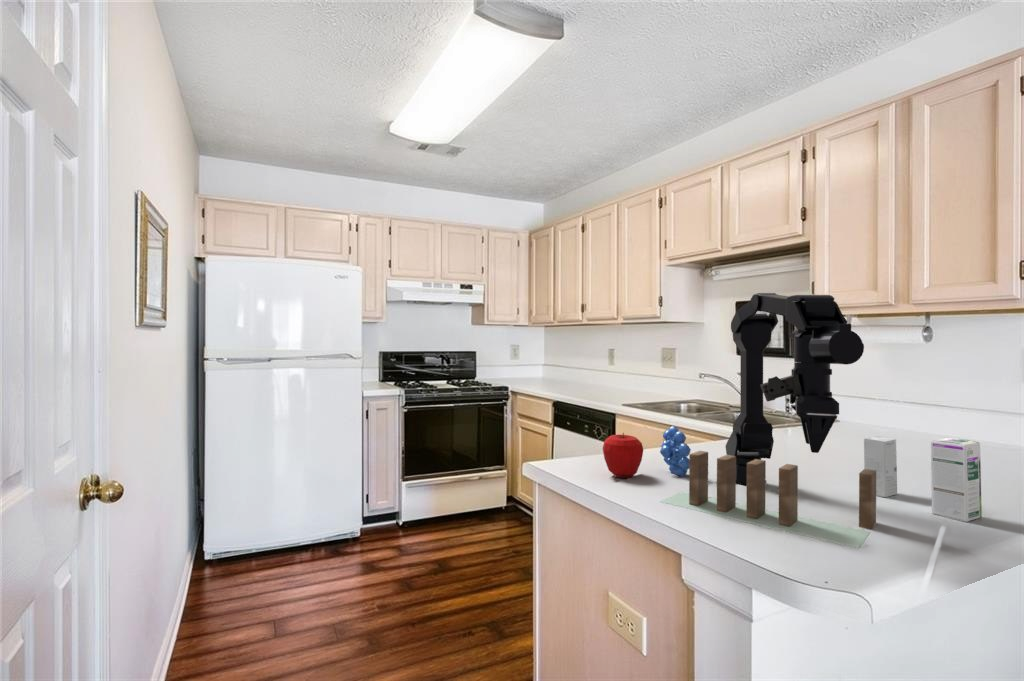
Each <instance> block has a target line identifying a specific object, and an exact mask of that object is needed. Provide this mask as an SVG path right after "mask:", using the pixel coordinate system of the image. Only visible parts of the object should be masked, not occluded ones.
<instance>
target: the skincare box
mask: <svg viewBox="0 0 1024 681" xmlns="http://www.w3.org/2000/svg"><path fill="white" fill-rule="evenodd" d="M897 460H898V459H897V439H896V438H890V437H884V436H883V437H882V436H872V437H866V438H865V437H864V438H863V470H864V469H870V470H876V497H880V498H889V497H891V496H895V495H897V494H898V471H897V470H898V469H897V468H898V467H897V466H898V465H897Z"/></svg>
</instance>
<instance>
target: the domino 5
mask: <svg viewBox="0 0 1024 681" xmlns="http://www.w3.org/2000/svg"><path fill="white" fill-rule="evenodd" d="M858 477H859V478H858V479H859V481H858V487H859V488H858V500H859V501H858V527H859V528H862V529H868V530H872V529H873V528H874V526H875V525H876V523H877V496H876V470H870V469H864V468H863V469H862V470H861V471H860V472H859V473H858Z"/></svg>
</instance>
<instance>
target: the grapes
mask: <svg viewBox="0 0 1024 681" xmlns="http://www.w3.org/2000/svg"><path fill="white" fill-rule="evenodd" d="M662 437H663V439H664V441H662V444H661V445H660V446H661V448H660V451H659V453H660V454H661V456H662V457H663V461H664V462H665V464H666V465H668V466H669V468H668V470H669V471H670V472H671V474H673V475H674V474H675V475H677V476H679V477H685V476H687V473H688V471H689V458H688V456H689V454H691V451H692V449H691V448H690V446H689V445H688V444H687V443H686V439H687V437H686V434H684V433H683V431H680V430H679V429H678V428H677V427H676V426H675V425H673V426H670V427H669V428H668V429H666V430H665V431H664V432H663V434H662Z"/></svg>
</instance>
